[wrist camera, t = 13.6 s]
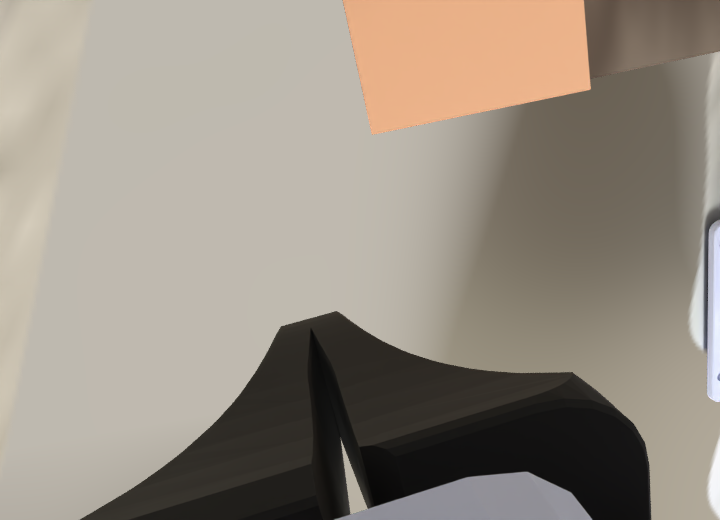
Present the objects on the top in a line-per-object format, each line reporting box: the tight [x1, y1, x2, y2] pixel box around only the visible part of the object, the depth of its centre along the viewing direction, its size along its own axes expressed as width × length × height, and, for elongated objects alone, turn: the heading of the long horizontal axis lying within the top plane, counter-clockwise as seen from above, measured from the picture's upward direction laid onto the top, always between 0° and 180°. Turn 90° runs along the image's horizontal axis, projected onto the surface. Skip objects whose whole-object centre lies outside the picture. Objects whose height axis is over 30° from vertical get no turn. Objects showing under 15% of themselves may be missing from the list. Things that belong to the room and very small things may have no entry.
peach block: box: [343, 0, 591, 135], centre depth 17 cm, size 5×2×7 cm
